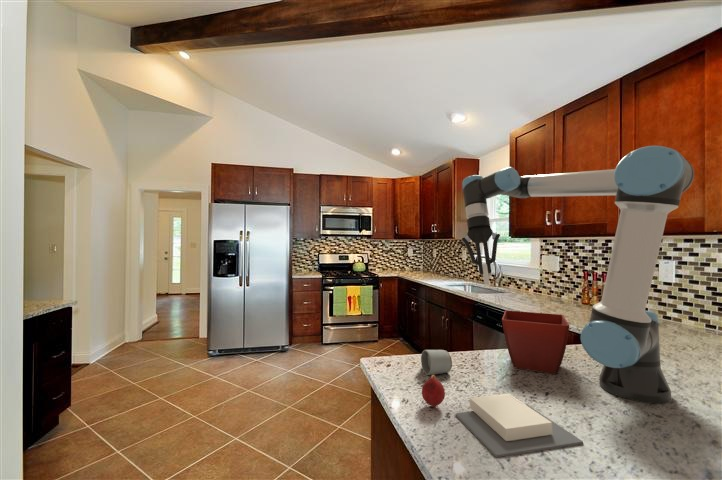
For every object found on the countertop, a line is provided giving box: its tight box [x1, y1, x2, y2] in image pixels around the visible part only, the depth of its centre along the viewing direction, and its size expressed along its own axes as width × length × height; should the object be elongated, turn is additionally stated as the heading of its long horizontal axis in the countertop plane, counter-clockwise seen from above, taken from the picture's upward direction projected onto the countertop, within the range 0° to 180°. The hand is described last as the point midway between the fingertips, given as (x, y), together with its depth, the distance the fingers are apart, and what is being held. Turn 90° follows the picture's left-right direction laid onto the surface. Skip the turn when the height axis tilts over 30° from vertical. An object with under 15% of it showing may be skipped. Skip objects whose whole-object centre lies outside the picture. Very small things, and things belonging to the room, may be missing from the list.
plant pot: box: [501, 310, 570, 375], centre depth 108 cm, size 19×19×17 cm
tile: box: [469, 393, 552, 441], centre depth 72 cm, size 11×3×14 cm
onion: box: [421, 374, 446, 408], centre depth 80 cm, size 6×6×8 cm
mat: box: [454, 403, 584, 459], centre depth 70 cm, size 16×20×1 cm
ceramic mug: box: [420, 349, 453, 376], centre depth 104 cm, size 11×8×8 cm
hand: (486, 283), depth 106 cm, fingers closed
